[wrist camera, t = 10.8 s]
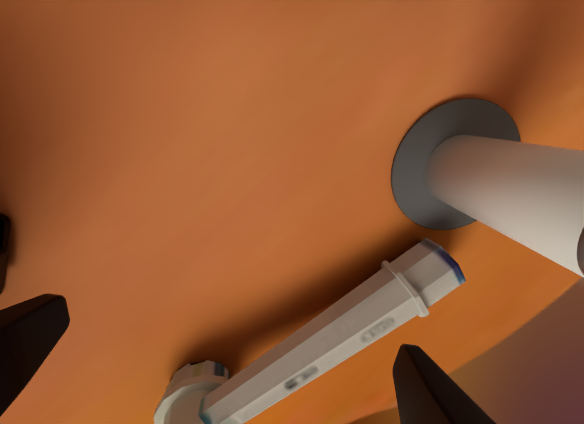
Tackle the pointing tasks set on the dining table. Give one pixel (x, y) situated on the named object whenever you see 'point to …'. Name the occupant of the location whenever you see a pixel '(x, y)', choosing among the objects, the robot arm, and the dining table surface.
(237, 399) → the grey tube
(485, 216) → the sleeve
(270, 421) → the dining table surface
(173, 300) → the dining table surface
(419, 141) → the pad
